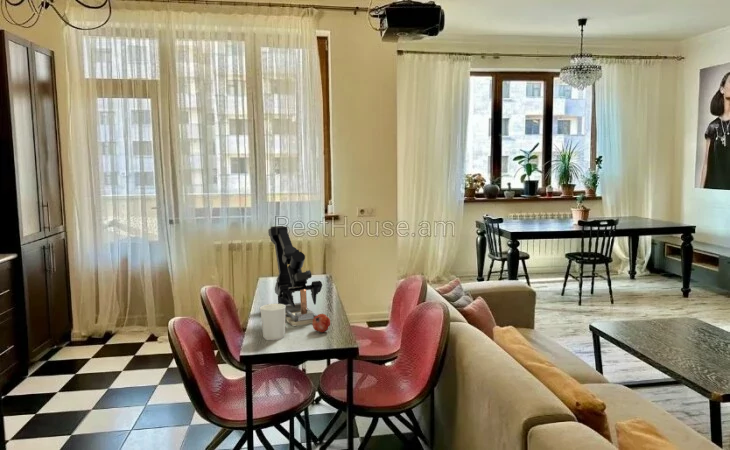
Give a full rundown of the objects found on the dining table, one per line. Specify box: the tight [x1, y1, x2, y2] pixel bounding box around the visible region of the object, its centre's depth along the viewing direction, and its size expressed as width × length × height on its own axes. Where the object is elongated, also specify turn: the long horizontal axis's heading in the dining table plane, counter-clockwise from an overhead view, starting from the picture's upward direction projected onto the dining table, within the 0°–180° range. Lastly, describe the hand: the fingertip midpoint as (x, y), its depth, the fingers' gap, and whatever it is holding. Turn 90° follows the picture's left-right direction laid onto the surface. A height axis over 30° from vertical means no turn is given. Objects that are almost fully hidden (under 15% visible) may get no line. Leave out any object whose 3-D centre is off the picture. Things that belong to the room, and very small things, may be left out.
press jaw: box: [295, 289, 314, 321], centre depth 215 cm, size 4×7×13 cm, turn 114°
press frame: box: [285, 302, 318, 327], centre depth 222 cm, size 18×12×4 cm, turn 24°
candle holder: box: [259, 303, 286, 341], centre depth 198 cm, size 10×10×12 cm
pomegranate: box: [311, 313, 331, 333], centre depth 203 cm, size 7×7×10 cm
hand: (304, 305), depth 214 cm, fingers open, 9 cm apart
